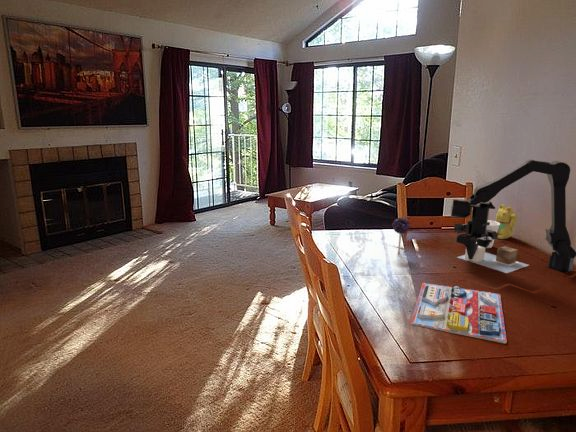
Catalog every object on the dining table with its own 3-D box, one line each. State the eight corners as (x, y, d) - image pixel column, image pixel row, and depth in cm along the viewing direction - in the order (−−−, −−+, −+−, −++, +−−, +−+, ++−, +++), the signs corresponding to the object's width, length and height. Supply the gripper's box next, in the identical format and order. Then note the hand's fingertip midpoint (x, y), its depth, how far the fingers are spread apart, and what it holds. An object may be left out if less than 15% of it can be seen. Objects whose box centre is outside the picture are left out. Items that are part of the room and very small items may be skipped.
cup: (501, 251, 173) (504, 225, 170) (477, 250, 173) (480, 225, 170) (490, 243, 182) (493, 219, 180) (467, 243, 183) (470, 219, 180)
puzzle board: (422, 285, 137) (423, 278, 136) (499, 298, 128) (500, 290, 127) (409, 326, 110) (410, 317, 109) (506, 346, 101) (508, 337, 100)
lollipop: (405, 251, 170) (409, 216, 166) (408, 256, 163) (412, 220, 160) (388, 250, 170) (391, 215, 167) (391, 256, 164) (394, 219, 160)
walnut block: (515, 262, 157) (517, 249, 156) (508, 264, 155) (510, 251, 153) (502, 258, 161) (504, 246, 160) (495, 260, 159) (497, 248, 158)
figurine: (486, 234, 197) (490, 203, 194) (500, 233, 200) (505, 203, 196) (504, 241, 187) (509, 208, 183) (519, 239, 189) (524, 208, 186)
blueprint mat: (529, 266, 155) (529, 264, 155) (506, 274, 146) (506, 273, 146) (479, 252, 171) (479, 250, 171) (456, 258, 162) (456, 257, 162)
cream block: (483, 259, 159) (485, 247, 158) (476, 262, 157) (478, 249, 156) (472, 256, 163) (473, 244, 162) (464, 258, 161) (466, 246, 160)
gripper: (474, 212, 168) (469, 248, 172) (445, 217, 158) (441, 256, 161) (500, 217, 159) (495, 256, 163) (472, 223, 149) (467, 264, 152)
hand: (474, 258), depth 160 cm, fingers closed on cream block, 5 cm apart
